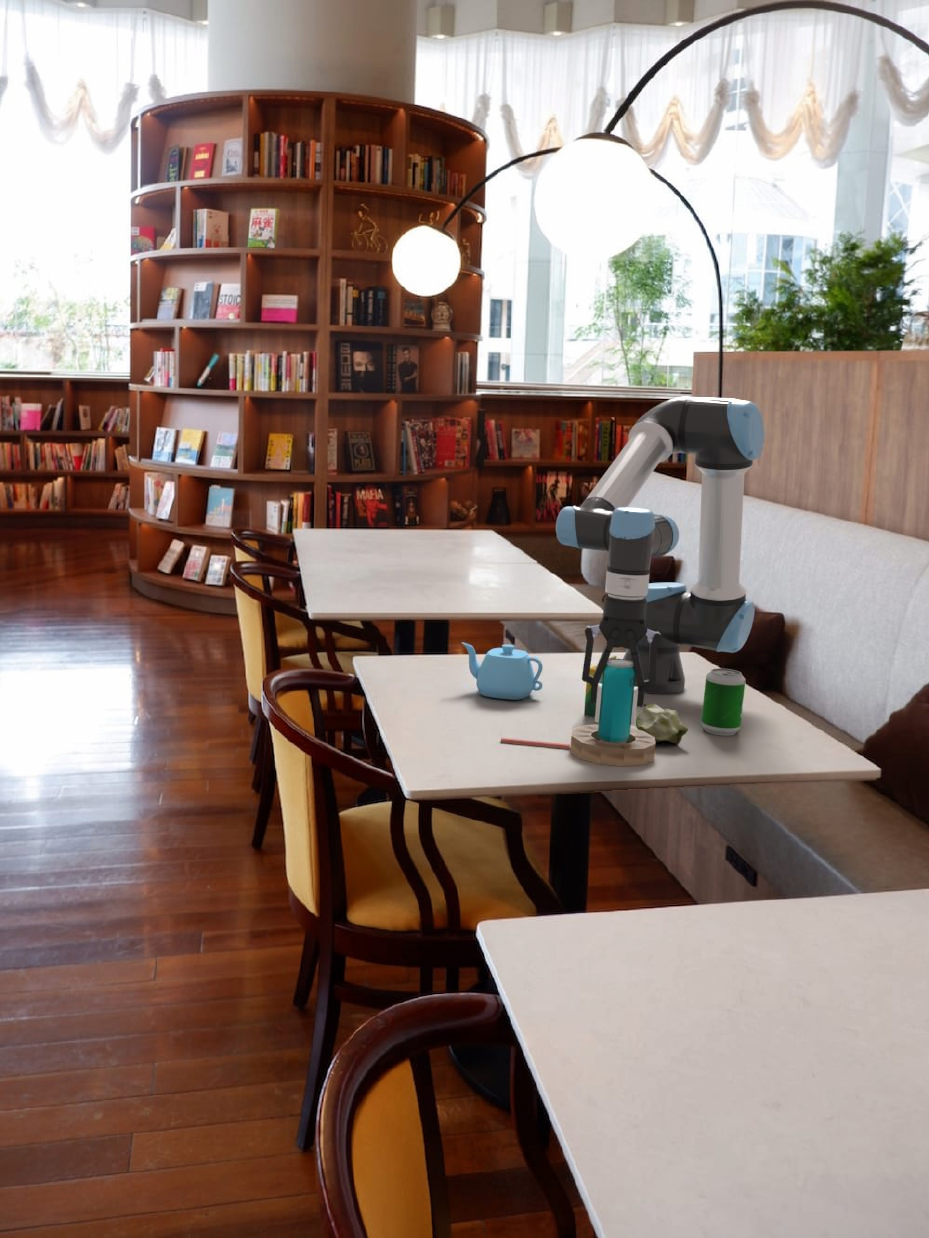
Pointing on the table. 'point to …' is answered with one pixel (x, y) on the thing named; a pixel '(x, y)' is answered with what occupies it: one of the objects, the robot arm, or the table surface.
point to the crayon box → (590, 707)
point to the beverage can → (616, 701)
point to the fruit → (661, 724)
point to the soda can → (723, 701)
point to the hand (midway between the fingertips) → (614, 721)
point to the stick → (535, 743)
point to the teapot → (505, 672)
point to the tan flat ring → (612, 747)
